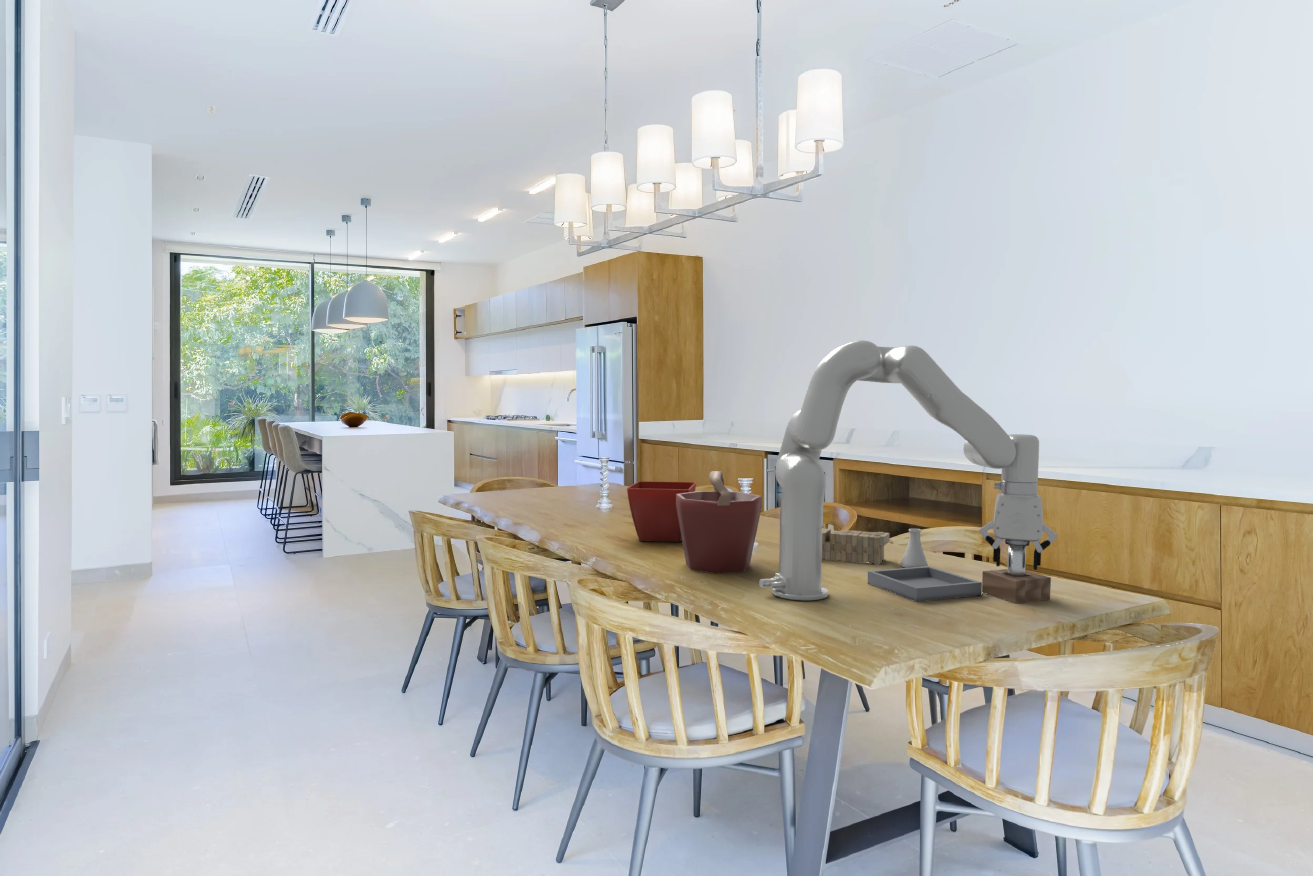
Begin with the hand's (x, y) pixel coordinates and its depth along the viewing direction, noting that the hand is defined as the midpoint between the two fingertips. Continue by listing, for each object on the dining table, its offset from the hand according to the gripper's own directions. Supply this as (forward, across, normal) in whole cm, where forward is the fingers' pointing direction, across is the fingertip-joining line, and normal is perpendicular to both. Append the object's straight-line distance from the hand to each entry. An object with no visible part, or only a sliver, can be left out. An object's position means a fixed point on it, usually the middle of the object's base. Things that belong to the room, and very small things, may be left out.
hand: (1016, 566), depth 183 cm
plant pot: (+7, -101, +29) cm, 105 cm away
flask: (+7, -25, +22) cm, 34 cm away
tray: (+7, -20, -3) cm, 21 cm away
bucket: (+7, -72, -1) cm, 72 cm away
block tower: (+7, -47, +24) cm, 53 cm away
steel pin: (+7, 0, 0) cm, 7 cm away
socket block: (+7, 0, 0) cm, 7 cm away
